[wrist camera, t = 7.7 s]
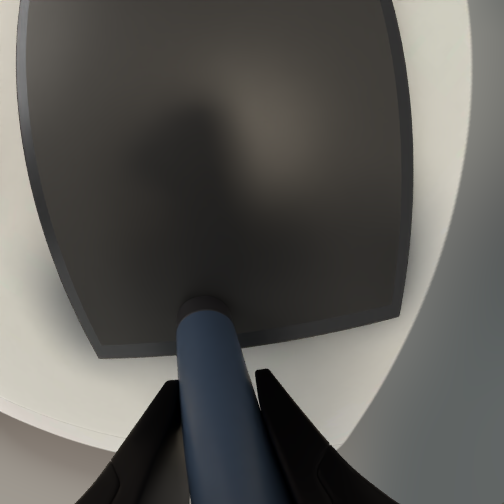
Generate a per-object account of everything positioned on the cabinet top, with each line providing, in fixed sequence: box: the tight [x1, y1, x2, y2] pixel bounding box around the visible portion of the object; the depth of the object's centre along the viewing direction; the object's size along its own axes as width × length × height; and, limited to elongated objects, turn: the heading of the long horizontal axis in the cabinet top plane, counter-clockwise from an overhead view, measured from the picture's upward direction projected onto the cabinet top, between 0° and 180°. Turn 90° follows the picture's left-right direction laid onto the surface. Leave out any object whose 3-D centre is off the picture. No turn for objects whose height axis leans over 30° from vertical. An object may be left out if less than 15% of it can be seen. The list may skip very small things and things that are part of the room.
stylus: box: [176, 296, 294, 504], centre depth 7 cm, size 2×2×10 cm
